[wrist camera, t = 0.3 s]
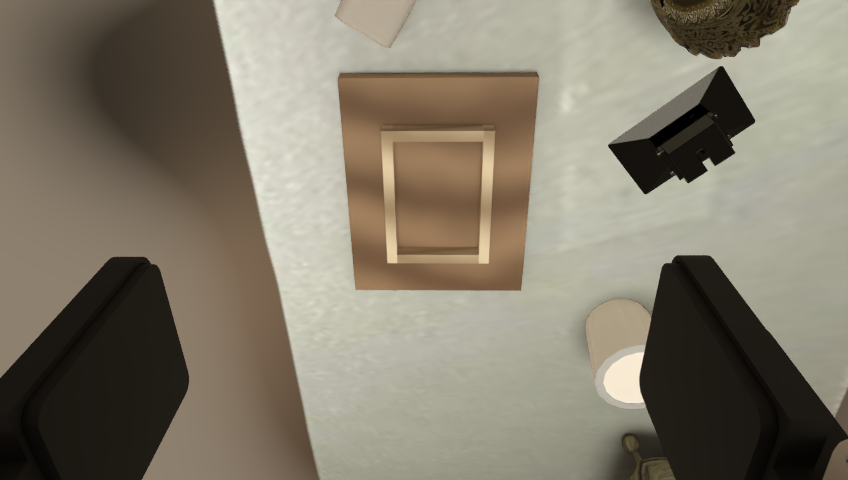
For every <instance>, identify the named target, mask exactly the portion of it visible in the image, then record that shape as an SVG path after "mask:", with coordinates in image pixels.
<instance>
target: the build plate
mask: <svg viewBox="0 0 848 480" xmlns="http://www.w3.org/2000/svg"><path fill="white" fill-rule="evenodd" d="M754 123H755V119H754V117H753V116H752V114H751V112H750V111H749V109H748V107H747V106H746V104H745V102H744V101H743V99H742V97H741V96H740V94H739V92H738V91H737V89H736V87H735V86H734V84H733V82H732V81H731V79H730V77H729V76H728V74H727V72H726V71H725V69H724V67H723V66H720V67H718V68H717V69H715V70H714V71H713V72H711V73H710V74H708V75H707V76H705V77H704V78H703V79H701V80H700V81H698V82H697V83H695V84H694V85H693V86H691V87H690V88H688V89H687V90H685V91H684V92H683V93H681V94H680V95H678V96H677V97H675V98H674V99H673V100H671V101H670V102H668V103H667V104H665V105H664V106H663V107H661V108H660V109H658V110H657V111H655V112H654V113H652V114H651V115H650V116H648V117H647V118H645V119H644V120H642V121H641V122H640V123H638V124H637V125H635V126H634V127H632V128H631V129H630V130H628V131H627V132H625V133H624V134H622V135H621V136H620V137H618V138H617V139H615V140H614V141H612V142H611V143H610V144H609V145H608V147H609V148H610V149H611V151H612V152H613V153H614V155H615V156H616V157H617V159H618V160H619V161H620V163H621V164H622V165H623V167H624V168H625V169H626V170H627V172H628V173H629V174H630V176H631V177H632V178H633V180H634V181H635V182H636V184H637V185H638V186H639V188H640V189H641V190H642V191H643V193H644V194H647V193H649V192H651V191H652V190H654V189H655V188H657V187H658V186H660V185H661V184H663V183H664V182H666V181H667V180H669V179H670V178H672V177H673V176H675V175H676V176H677V177H678V179H679V180H681V179H683V178H684V179H685V181H686V182H687V183H690V182H691V181H693V180H694V179H696V178H698V177H699V176H701V175H702V174H704V173H705V172H707V171H708V170H707V169H706V167H705V166H704V164H703V163H702V162H703V161H705V160H706V159H708V158H709V159H710V161H711V162H712V164H713V165H714V166H716V165H718V164H719V163H721V162H722V161H724V160H725V159H727V158H729V157H730V156H732V155H733V154H735V151H734V150H733V148H732V146H733V144H732V142H731V141H730V139H731V138H732V137H734V136H735V135H737V134H738V133H740V132H741V131H743V130H744V129H746V128H748V127H749V126H751V125H752V124H754Z"/></svg>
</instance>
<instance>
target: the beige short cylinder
mask: <svg viewBox="0 0 848 480" xmlns="http://www.w3.org/2000/svg"><path fill="white" fill-rule="evenodd" d="M650 322H651V316H650V315H649V313H648V312H647V310H646V309H645V308H644V307H643V306H642V305H641V304H640V303H637V302H635V301H632V300H629V299H614V300H611V301H607V302H604V303H602V304H601V305H599V306H598V307H596V308H595V309H593V311H592V312H591V314H590V315H589V316H588V318H587V321H586V326H585V331H586V336H587V342H588V348H589V353H590V359H591V364H592V370H593V376H594V381H595V385H596V388H597V391H598V393H599V395H600V396H601V397H602V398H603V399H604V400H605V401H606V402H608V403H609V404H611V405H614V406H617V407H620V408H624V409H641V408H644V407H646V405H645V403H644V400H643V398H642V395H641V392H640V386H639V376H640V370H641V365H642V360H643V356H644V351H645V346H646V341H647V336H648V332H649V327H650Z"/></svg>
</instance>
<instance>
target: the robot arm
mask: <svg viewBox="0 0 848 480" xmlns="http://www.w3.org/2000/svg"><path fill="white" fill-rule="evenodd" d="M188 384H189V374H188V370H187V366H186V362H185V359H184V355H183V352H182V348H181V344H180V341H179V337H178V334H177V330H176V327H175V323H174V319H173V315H172V312H171V308H170V305H169V301H168V297H167V294H166V290H165V287H164V283H163V279H162V276H161V272H160V269H159V268H158V266H157V265H154V264H151V263H150V261H149V260H148V259H147V258H145V257H113V258H111V259H109V260H108V261H107V262H106V263H105V264H104V266H103V267H102V268H101V269H100V270H99V271H98V272H97V273H96V274H95V275H94V276H93V278H92V279H91V280H90V281H89V282H88V283H87V284H86V285H85V286H84V287H83V288H82V290H81V291H80V292H79V293H78V294H77V295H76V296H75V297H74V298H73V299H72V301H71V302H70V303H69V304H68V305H67V306H66V307H65V308H64V309H63V310H62V312H61V313H60V314H59V315H58V316H57V317H56V318H55V319H54V320H53V321H52V322H51V323H50V325H49V326H48V327H47V328H46V329H45V330H44V331H43V332H42V333H41V334H40V336H39V337H38V338H37V339H36V340H35V341H34V342H33V343H32V344H31V345H30V346H29V347H28V349H27V350H26V351H25V352H24V353H23V354H22V355H21V356H20V357H19V358H18V359H17V361H16V362H15V363H14V364H13V365H12V366H11V367H10V368H9V369H8V370H7V372H6V373H5V374H4V375H3V376H2V377H1V378H0V480H142V478H143V476H144V474H145V472H146V470H147V468H148V466H149V465H150V463H151V461H152V459H153V457H154V455H155V453H156V451H157V449H158V447H159V445H160V443H161V441H162V439H163V437H164V435H165V433H166V431H167V429H168V428H169V425H170V424H171V422H172V419H173V418H174V416H175V414H176V412H177V410H178V408H179V406H180V404H181V402H182V400H183V398H184V396H185V394H186V392H187V389H188ZM639 386H640V392H641V395H642V398H643V400H644V403H645V405H646V408H647V410H648V413H649V415H650V418H651V420H652V422H653V425H654V427H655V430H656V432H657V435H658V437H659V440H660V442H661V445H662V447H663V450H664V452H665V455H666V457H667V460H668V462H669V465H670V467H671V470H672V472H673V475H674V477H675V480H848V435H847V434H846V433H845V431H844V430H843V429H842V427H841V426H840V425H839V424H838V422H837V421H836V419H835V418H834V417H833V415H832V414H831V413H830V411H829V410H828V409H827V407H826V406H825V405H824V403H823V402H822V401H821V400H820V398H819V397H818V396H817V394H816V393H815V392H814V390H813V389H812V388H811V386H810V385H809V384H808V382H807V381H806V380H805V378H804V377H803V376H802V374H801V373H800V372H799V370H798V369H797V368H796V366H795V365H794V364H793V362H792V361H791V360H790V358H789V357H788V356H787V355H786V353H785V352H784V351H783V349H782V348H781V347H780V345H779V344H778V343H777V341H776V340H775V339H774V337H773V336H772V335H771V334H770V333H769V332H768V331H767V330H766V329H765V327H764V326H763V325H762V323H761V322H760V321H759V319H758V318H757V317H756V315H755V314H754V313H753V311H752V310H751V309H750V307H749V306H748V305H747V303H746V302H745V301H744V299H743V298H742V297H741V295H740V294H739V293H738V291H737V290H736V289H735V287H734V286H733V285H732V283H731V282H730V281H729V279H728V278H727V277H726V275H725V274H724V273H723V271H722V270H721V269H720V267H719V266H718V265H717V263H716V262H715V261H714V259H713V258H712V257H711V256H707V255H677V256H676V257H674V259H673V260H672V263H666V264H664V265H663V267H662V270H661V274H660V279H659V284H658V289H657V293H656V298H655V303H654V308H653V313H652V317H651V322H650V327H649V332H648V336H647V341H646V346H645V351H644V356H643V360H642V365H641V370H640V376H639Z"/></svg>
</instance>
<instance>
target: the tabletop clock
mask: <svg viewBox="0 0 848 480" xmlns="http://www.w3.org/2000/svg"><path fill="white" fill-rule="evenodd" d="M622 446H623V448H624V449H625V450H626V451H627V452H629V453H632V454H633V456H634V459H635V461H636V464H637V466H636V468H635V470H634V472H633V474H632V476H631V478H630V480H675V477H674V475H673V472H672V470H671V467H670V465H669V462H668V460H667V457H652V458H647V459H643V460H642V458H641V457H640V455H639V453H638V452H637V450H638V448H639V442H638V440H637V439H636V438H635V437H634V436H626V437H625V438H624V439H623V441H622Z"/></svg>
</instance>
